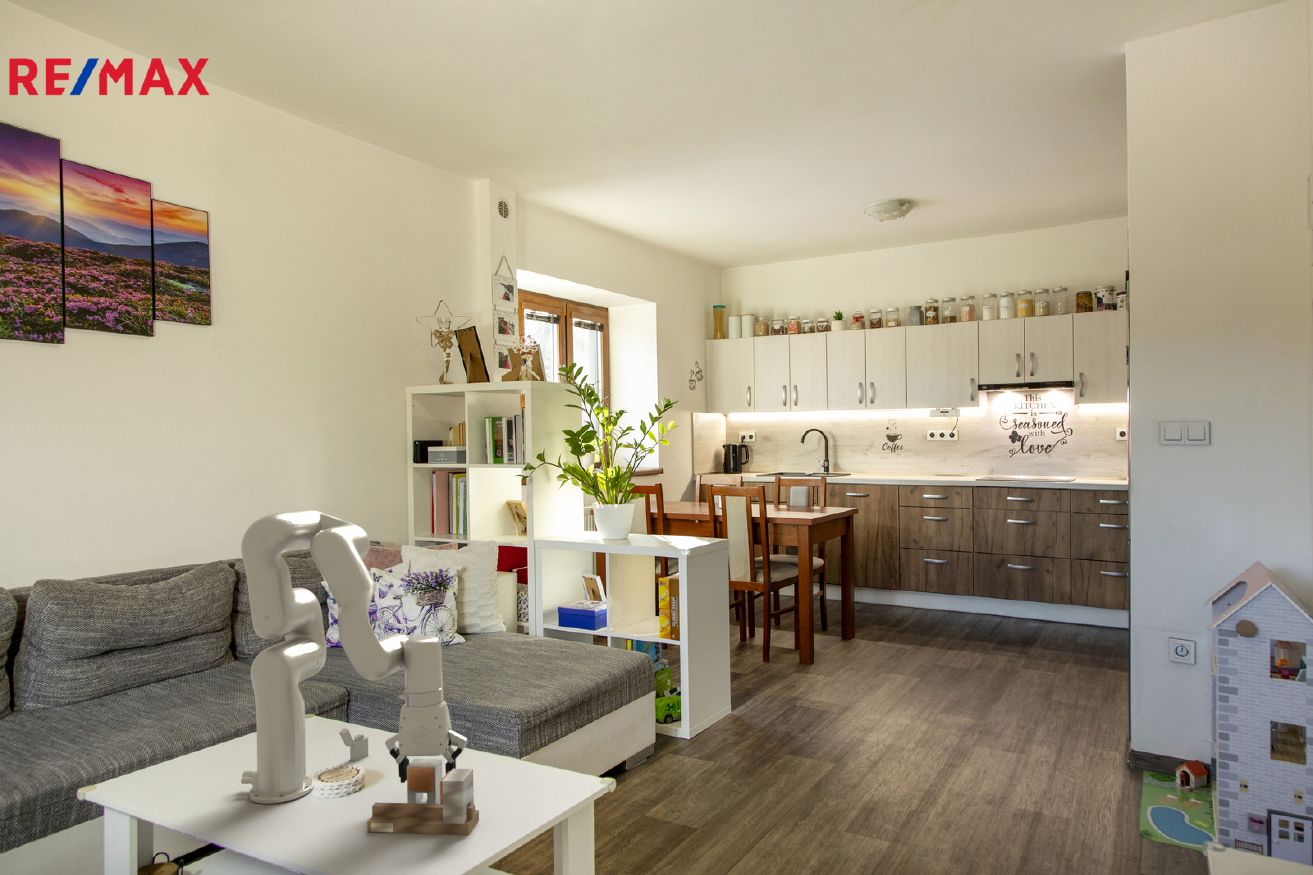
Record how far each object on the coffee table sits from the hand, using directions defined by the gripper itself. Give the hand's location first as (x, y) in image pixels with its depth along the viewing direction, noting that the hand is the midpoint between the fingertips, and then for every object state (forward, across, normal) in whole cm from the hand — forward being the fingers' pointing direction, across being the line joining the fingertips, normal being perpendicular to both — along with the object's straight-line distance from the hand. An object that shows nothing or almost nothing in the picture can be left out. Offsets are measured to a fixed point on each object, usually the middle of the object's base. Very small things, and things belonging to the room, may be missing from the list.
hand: (427, 780), depth 171 cm
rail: (+4, +3, -11) cm, 12 cm away
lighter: (+4, -27, +22) cm, 35 cm away
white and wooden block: (+4, -1, 0) cm, 4 cm away
